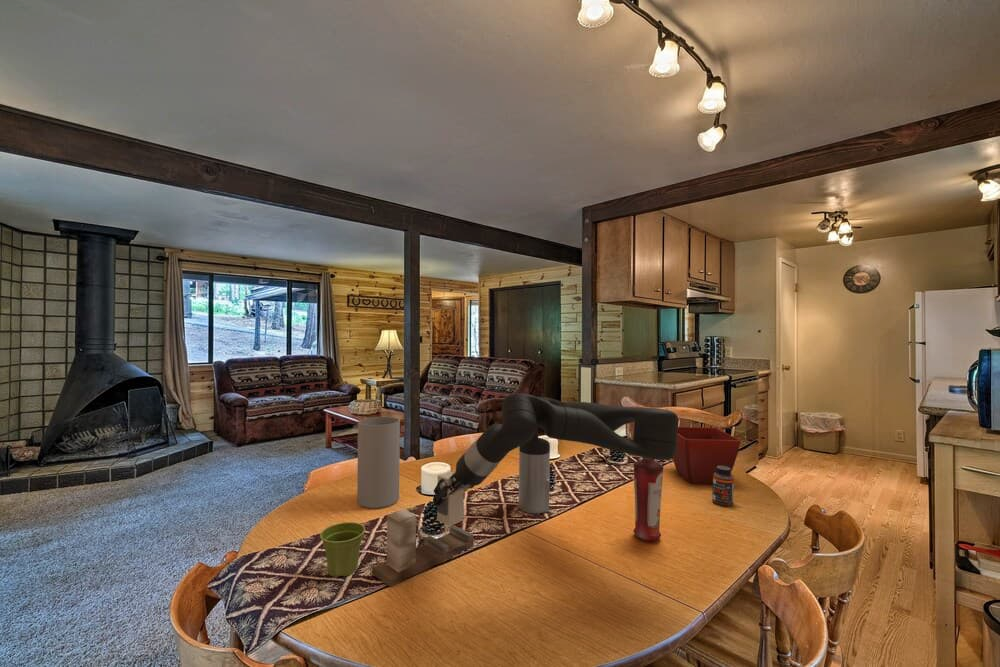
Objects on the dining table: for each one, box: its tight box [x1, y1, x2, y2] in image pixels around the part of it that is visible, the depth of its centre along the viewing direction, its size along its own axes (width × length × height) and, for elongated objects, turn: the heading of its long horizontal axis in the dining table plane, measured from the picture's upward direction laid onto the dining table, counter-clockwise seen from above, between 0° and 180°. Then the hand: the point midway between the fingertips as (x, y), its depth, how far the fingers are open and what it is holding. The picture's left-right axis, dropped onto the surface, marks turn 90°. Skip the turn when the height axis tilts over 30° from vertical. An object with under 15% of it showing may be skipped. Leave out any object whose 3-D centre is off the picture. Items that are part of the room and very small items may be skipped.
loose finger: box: [436, 471, 464, 527], centre depth 107 cm, size 5×4×11 cm
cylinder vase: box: [356, 416, 401, 509], centre depth 136 cm, size 12×12×25 cm
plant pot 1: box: [319, 521, 366, 578], centre depth 97 cm, size 9×9×9 cm
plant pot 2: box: [672, 426, 741, 485], centre depth 161 cm, size 19×19×17 cm
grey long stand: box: [371, 508, 474, 588], centre depth 102 cm, size 24×7×12 cm, turn 138°
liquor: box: [633, 457, 664, 543], centre depth 114 cm, size 7×7×28 cm
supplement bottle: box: [711, 466, 735, 507], centre depth 138 cm, size 6×6×11 cm
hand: (444, 499), depth 108 cm, fingers closed on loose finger, 5 cm apart
